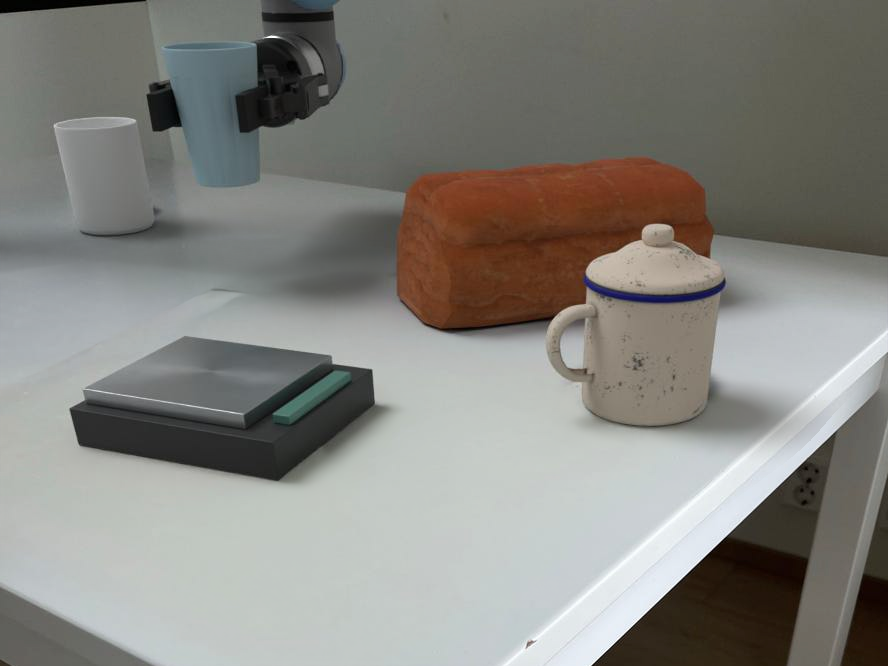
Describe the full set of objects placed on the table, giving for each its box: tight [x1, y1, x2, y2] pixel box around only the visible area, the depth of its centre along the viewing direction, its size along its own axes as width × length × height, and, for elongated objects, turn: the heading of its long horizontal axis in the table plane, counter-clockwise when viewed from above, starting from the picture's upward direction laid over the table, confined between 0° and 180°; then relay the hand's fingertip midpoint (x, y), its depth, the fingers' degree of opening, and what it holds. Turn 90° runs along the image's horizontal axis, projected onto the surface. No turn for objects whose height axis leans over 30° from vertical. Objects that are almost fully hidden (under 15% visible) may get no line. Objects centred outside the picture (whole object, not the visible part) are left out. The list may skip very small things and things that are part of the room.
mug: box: [53, 116, 155, 236], centre depth 112 cm, size 9×12×11 cm
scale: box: [68, 335, 376, 481], centre depth 66 cm, size 15×13×4 cm
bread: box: [395, 156, 716, 329], centre depth 87 cm, size 16×27×11 cm, turn 110°
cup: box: [161, 41, 261, 189], centre depth 85 cm, size 8×8×10 cm
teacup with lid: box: [545, 224, 727, 427], centre depth 66 cm, size 12×9×12 cm
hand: (197, 113), depth 81 cm, fingers closed on cup, 7 cm apart
